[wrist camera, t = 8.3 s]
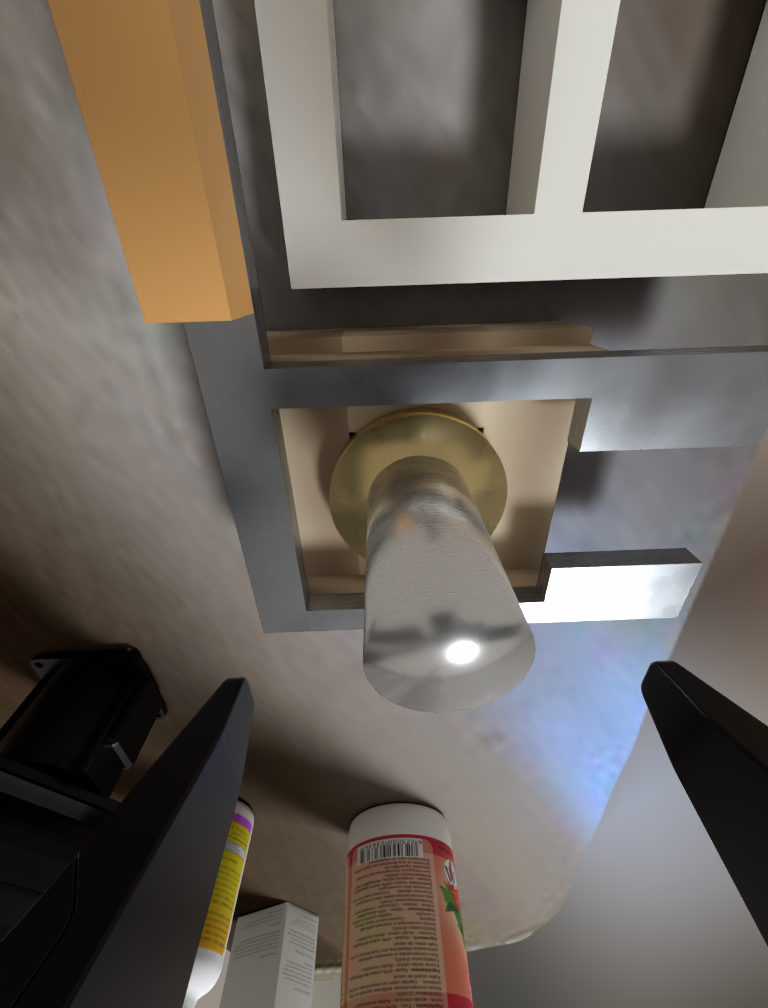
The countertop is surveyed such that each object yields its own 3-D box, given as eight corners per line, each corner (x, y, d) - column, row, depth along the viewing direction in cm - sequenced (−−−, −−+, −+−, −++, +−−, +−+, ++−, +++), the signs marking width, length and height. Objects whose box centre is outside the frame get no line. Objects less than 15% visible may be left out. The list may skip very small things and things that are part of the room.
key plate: (269, 615, 18) (251, 672, 16) (86, -139, 8) (-57, -342, 5) (662, 600, 18) (710, 655, 16) (997, -166, 8) (1301, -380, 5)
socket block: (300, 568, 22) (287, 621, 18) (259, 331, 16) (229, 346, 12) (519, 560, 22) (545, 611, 19) (562, 320, 16) (612, 333, 12)
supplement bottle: (183, 786, 33) (87, 1046, 22) (262, 798, 34) (209, 1048, 23) (175, 822, 36) (87, 1065, 25) (248, 831, 38) (195, 1066, 26)
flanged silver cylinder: (342, 528, 21) (316, 749, 11) (329, 392, 17) (273, 544, 7) (478, 523, 21) (567, 740, 11) (492, 386, 17) (643, 531, 8)
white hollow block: (305, 286, 15) (291, 288, 12) (261, -105, 10) (224, -230, 8) (728, 272, 15) (803, 271, 12) (867, -123, 10) (1029, -252, 8)
